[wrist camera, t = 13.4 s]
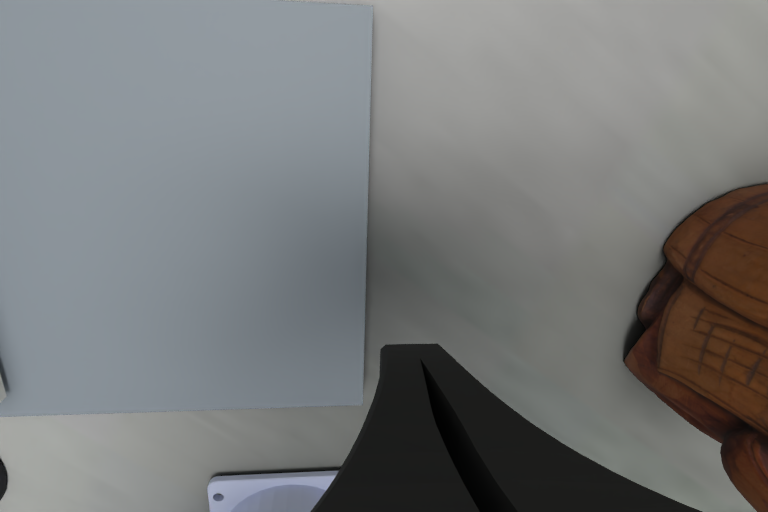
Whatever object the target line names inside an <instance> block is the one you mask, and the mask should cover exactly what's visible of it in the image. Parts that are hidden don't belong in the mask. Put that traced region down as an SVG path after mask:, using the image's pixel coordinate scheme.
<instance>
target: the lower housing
mask: <svg viewBox="0 0 768 512" xmlns="http://www.w3.org/2000/svg"><path fill="white" fill-rule="evenodd" d="M6 397H7V396H6V392H5V389H4V385H3V382H2V378H1V374H0V402H2V401H3V400H4V399H5V398H6Z"/></svg>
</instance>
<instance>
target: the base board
mask: <svg viewBox="0 0 768 512" xmlns="http://www.w3.org/2000/svg"><path fill="white" fill-rule="evenodd" d="M372 21H373V6H370V5H352V4H335V3H317V2H300V1H283V0H0V374H1V378H2V382H3V385H4V389H5V392H6V396H7V397H6V398H5V399H4V400H3V401H2V402H0V417H12V416H42V415H73V414H104V413H135V412H166V411H196V410H227V409H258V408H289V407H319V406H350V405H363V375H364V336H365V296H366V257H367V218H368V178H369V139H370V100H371V60H372Z"/></svg>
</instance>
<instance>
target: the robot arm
mask: <svg viewBox="0 0 768 512" xmlns="http://www.w3.org/2000/svg"><path fill="white" fill-rule="evenodd" d="M207 491H208V500H209V508H210V512H702V511H699V510H697V509H694V508H691V507H689V506H686V505H684V504H682V503H679V502H677V501H675V500H672V499H670V498H668V497H666V496H663V495H661V494H659V493H657V492H655V491H652V490H650V489H648V488H646V487H643V486H641V485H639V484H637V483H635V482H633V481H631V480H629V479H627V478H625V477H623V476H621V475H619V474H616V473H615V472H613V471H611V470H609V469H607V468H605V467H603V466H601V465H600V464H598V463H596V462H594V461H592V460H590V459H589V458H587V457H585V456H583V455H581V454H579V453H578V452H576V451H574V450H573V449H571V448H569V447H567V446H566V445H564V444H563V443H561V442H559V441H558V440H556V439H555V438H553V437H552V436H550V435H549V434H547V433H546V432H544V431H542V430H541V429H539V428H538V427H536V426H535V425H533V424H532V423H531V422H529V421H528V420H526V419H525V418H523V417H522V416H521V415H519V414H518V413H517V412H516V411H514V410H513V409H512V408H510V407H509V406H508V405H506V404H505V403H504V402H503V401H501V400H500V399H499V398H498V397H496V396H495V395H494V394H493V393H491V392H490V391H489V390H488V389H487V388H486V387H484V386H483V385H482V384H481V383H480V382H479V381H478V380H476V379H475V378H474V377H473V376H472V375H471V374H470V373H469V372H468V371H466V370H465V369H464V368H463V367H462V366H461V365H460V364H459V363H458V362H457V361H456V360H455V359H454V358H453V357H452V356H450V355H449V354H448V353H447V352H446V351H445V350H444V349H443V348H442V347H441V346H440V345H439V344H397V345H385V346H384V347H383V348H381V353H380V378H379V382H378V385H377V389H376V393H375V396H374V399H373V402H372V404H371V407H370V410H369V412H368V415H367V417H366V420H365V422H364V425H363V427H362V429H361V431H360V433H359V435H358V438H357V440H356V441H355V443H354V445H353V447H352V449H351V451H350V453H349V455H348V456H347V458H346V460H345V461H344V463H343V465H342V467H341V468H340V470H339V471H318V472H296V473H275V474H254V475H233V476H217V477H213V478H212V479H211V480H210V481H209V484H208V488H207ZM217 493H220V494H222V495H218V494H217Z"/></svg>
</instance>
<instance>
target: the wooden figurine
mask: <svg viewBox="0 0 768 512" xmlns="http://www.w3.org/2000/svg"><path fill="white" fill-rule="evenodd" d="M663 249H664V253H665V255H666V257H667V262H666V264H665V266H664V268H663V269H662V270H661V272H660V273H659V274H658V275H657V276H656V277H655V278H654V279H653V281H652V282H651V284H650V287H649V291H648V293H647V294H646V295H645V297H644V298H643V300H642V301H641V303H640V305H639V308H638V313H637V315H638V318H639V319H640V321H641V323H642V324H643V325H644V326H645V328H646V331H645V332H644V333H643V334H642V335H641V337H640V339H639V340H638V341H637V343H636V344H635V345H634V347H633V348H632V349H631V350H630V351H629V354H628V355H627V356H626V358H625V361H624V363H625V365H626V366H627V367H628V368H629V370H630V371H631V372H632V373H633V374H634V375H635V376H636V378H637V379H638V380H640V381H641V382H642V383H643V384H644V385H645V386H646V387H647V388H648V389H650V390H651V391H652V392H654V393H655V394H656V395H657V396H658V397H659V398H660V399H661V400H662V401H663V402H664V403H666V404H667V405H668V406H669V407H671V408H672V409H673V410H674V411H675V412H676V413H678V414H679V415H680V416H682V417H683V418H684V419H685V420H686V421H688V422H689V423H690V424H691V425H693V426H694V427H696V428H697V429H699V430H700V431H701V432H703V433H705V434H706V435H708V436H710V437H711V438H713V439H715V440H716V441H718V442H720V443H722V446H721V452H720V453H721V458H722V464H723V467H724V470H725V471H726V473H727V475H728V477H729V479H730V480H731V482H732V483H733V484H734V486H735V487H736V489H737V490H738V491H739V492H740V493H741V494H742V495H743V497H744V498H745V499H746V500H747V501H748V502H749V503H750V504H751V505H752V507H753V508H754V509H755V510H756V511H757V512H768V184H763V185H758V186H752V187H748V188H741V189H737V190H735V191H732V192H730V193H728V194H727V195H725V196H723V197H721V198H718V199H716V200H714V201H711V202H709V203H707V204H705V205H704V206H703V207H701V208H700V209H699V210H698V211H696V212H695V213H694V214H692V215H691V216H690V217H688V218H687V219H686V220H685V221H684V222H683V223H682V224H681V225H680V226H679V227H677V228H676V229H675V231H674V232H673V233H672V235H671V236H670V237H669V239H668V240H667V242H666V244H665V246H664V248H663Z"/></svg>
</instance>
